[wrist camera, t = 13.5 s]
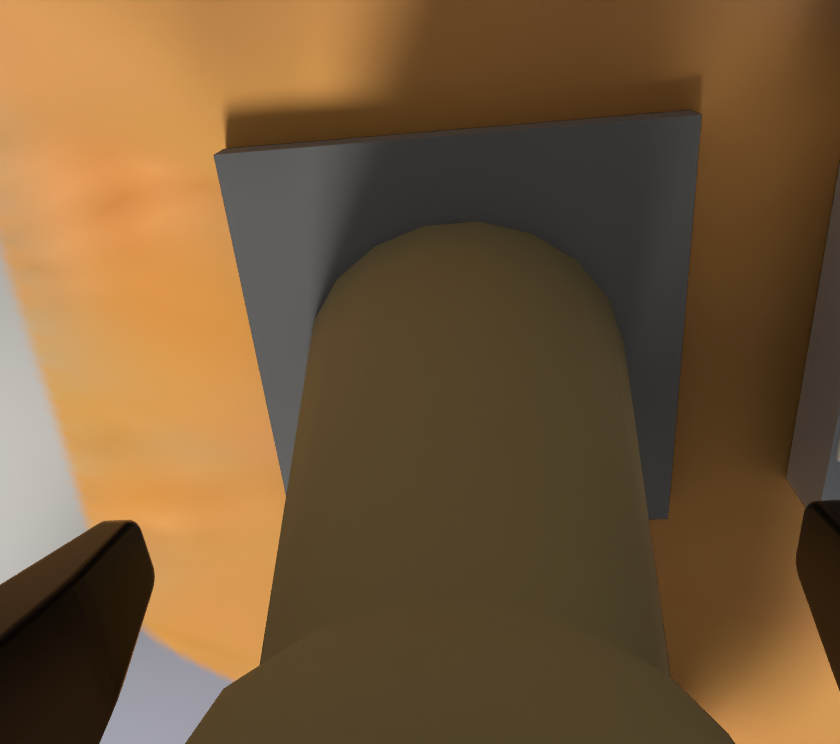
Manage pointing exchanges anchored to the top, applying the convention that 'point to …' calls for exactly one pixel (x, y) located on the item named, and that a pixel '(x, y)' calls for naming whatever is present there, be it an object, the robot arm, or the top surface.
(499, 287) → the cork
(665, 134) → the rubber pad
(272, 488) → the top surface
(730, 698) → the top surface
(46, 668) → the robot arm
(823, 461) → the grey slide rail tray
